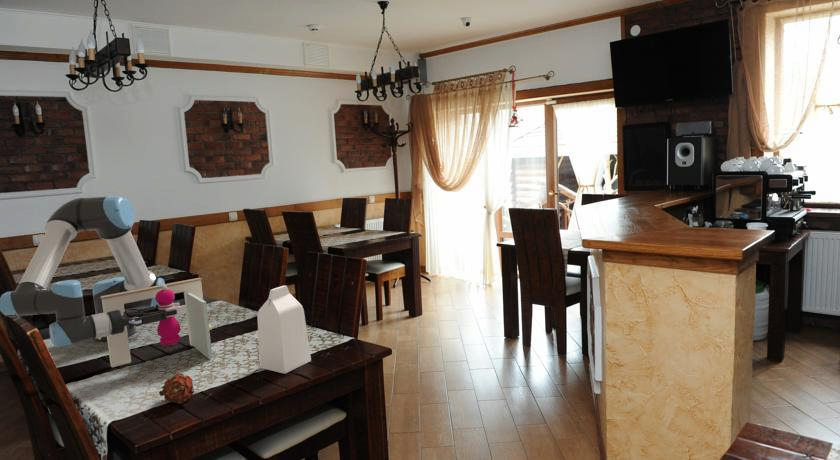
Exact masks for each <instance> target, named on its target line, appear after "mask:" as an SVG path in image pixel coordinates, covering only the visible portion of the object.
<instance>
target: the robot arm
mask: <svg viewBox="0 0 840 460" xmlns="http://www.w3.org/2000/svg"><path fill="white" fill-rule="evenodd" d="M134 212H135V211H134V208H133V206H132V204H131V202H130V201H129V200H128V199H127V198H126V197H124V196H119V195H116V196H115V195H107V196H101V197H100V196H98V197H93V196H92V197H77V198H74V199H72V200H69V201H66V202H65V203H64V204H62V205H61V206H60V207H58V208H57V209H56V211H54V212H53V213H52V215H50V217H49V218H48V220H47V221H46V224H45V225H44V230H45V233H44V235H43V237H42V239H41V241H40V242H39V244H38V246H37V247H36V250H35V252H34V253H33V257H32V258H31V260H30V262H29V264H28V265H27V267H26V269H25V271H24V273H23V275H22V277H21V279H20V280H19V282H18V285H17V286H16V288H15V290H11V291H6V292H4V293H3V294H1V296H0V312H2V314H3V315H4V316H6V317H8V316H7V315H15V314H16V315H17V316H16V317H23V316H34V315H49V314H55V320H56V321H54V322H53V323H50V324H49V330H48V331H49V337H50V342H51V344H52V345H53V346H54V347H56V348H59V347H65V346H70V345H71V346H72V345H76V344H80V343H84V342H87V341H92V340H95V341H97V342H107V336H109V334H111V335H115V334H119V333H123V332H124V329H125V328H124V327H125V326H126V325H127V333H128V337H130V336H133V335H134V334H136V332H137V327H139V326H143V325H148V324H152V323H157V322H160V321H161V320H167V317H171V316H175V317H176V316H179V315H184V314H185V315H186V305H185V304H183V305H181V304H180V302H173V303H174V307H173V308H169V309H165V310H163V311H160V310H159V309H158V308H159V307H158V305H159V304H158V303H157V302H156V299H155V298H150V299H145V300H140V301H135V302H130V303H125V304H124V310H125V312H123V313H124V315H122V313H121V311H120V310H115V311H110V312H107V313H104V312H103V305H102V299H101V298H100V296H105V295H111V294H116V293H121V292H127V291H132V290H137V289H142V288H148V287H153V286H158V285H164V284H166V283H165V279H164V278H162V277H158V278H157V276H156V275H155V272H154V271H151V270H149V269H148V267H147V265H146V263H145V260H144V258H143V256H142V254H141V251H140V249H139V247H138V245H137V243H136V241H135V238H134V236H133V234H132V232H131V230H132V229H133V225H134V224H135V219H136V217H135V213H134ZM87 231H95V232H96V234H97V236H98V237H99V238H100V239H102V240H104V241H105V242H106V243H107V245H108V247H109V249H110V251H111V253H112V255H113V258H114V259H115V262H116V263H117V265H118V267H119V269H120V272H121V273H122V276H116V277H112V278H106V279H103V280H100V281H98V282H95V283H94V284H93V285H92V298H93V305H94V311H95V314H91V315H87V316H86V311H85V303H84V296H83V295H84V293H83V291H82V285H81V282H80V281H79V280H76V279H67V280H66V279H65V280H61V281H57V282H53V283H52V285H51V288H49V286H50V283H51V282H52V279H53V277H54V275H55V274H56V271H57V269H58V267H59V265H60V263H61V261H62V260H63V256H64V255H65V252H66V250H67V248H68V246H69V245H70V242H71V241H72V240H74V239H76V237H77V235H78V234H79V233H80V232H87Z"/></svg>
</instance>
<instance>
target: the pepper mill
mask: <svg viewBox="0 0 840 460" xmlns="http://www.w3.org/2000/svg"><path fill="white" fill-rule="evenodd" d="M161 289H162V290H161V291H159V292H158V293H157V294H156V297H155V299H156V302H157V303H158V304H159V305H158V307H159V308H158V309H159V310H160V311H163V310H165V309H169V308H173V307H174V303H175V302H174V301H175V299H176V298H175V297H176V296H175V295H176V294H174V293H173V291H171V290H168V289H167V286H165V285H163V286H162V287H161ZM181 329H182V328H181V325H180V323H179V321H178V320H177V318H176V316H171V317H167V320H161V321H158V324H157V329H156V330H157V335H158V336H159V337H160V338H159V342H160V345H161V346H170V345H175V344H178V343H179V342H181V335H179V333H180V332H181Z"/></svg>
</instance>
